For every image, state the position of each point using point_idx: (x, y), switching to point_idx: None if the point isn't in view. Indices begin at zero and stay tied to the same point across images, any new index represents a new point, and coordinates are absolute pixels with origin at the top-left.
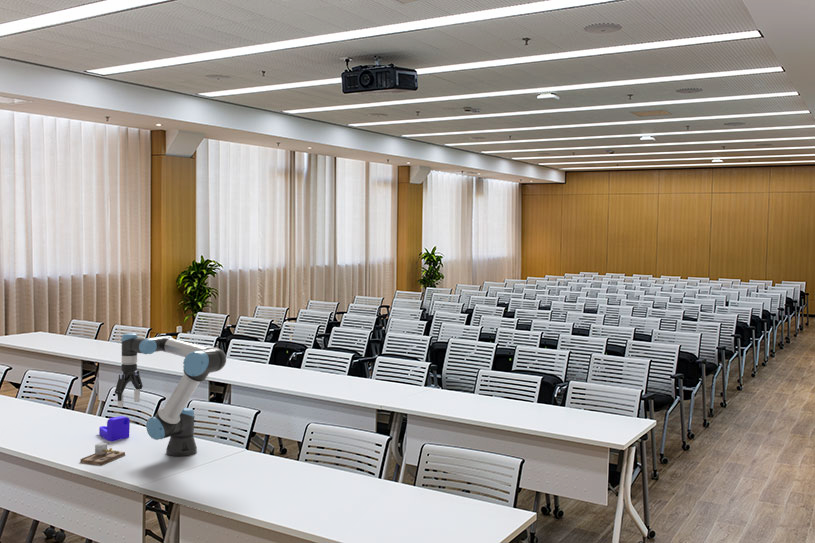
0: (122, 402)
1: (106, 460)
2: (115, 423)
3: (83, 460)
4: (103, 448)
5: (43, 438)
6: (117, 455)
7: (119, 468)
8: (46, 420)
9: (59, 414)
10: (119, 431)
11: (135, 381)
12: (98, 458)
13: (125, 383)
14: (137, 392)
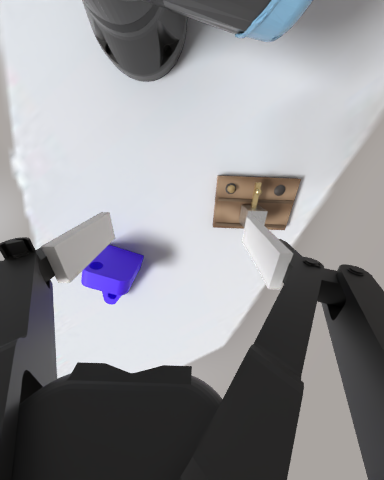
0: (264, 226)
1: (283, 178)
2: (123, 274)
3: (286, 222)
4: (259, 208)
5: (175, 336)
6: (246, 177)
7: (319, 119)
8: None
9: None
10: (121, 259)
11: (17, 332)
12: (277, 200)
13: (304, 355)
14: (75, 245)
